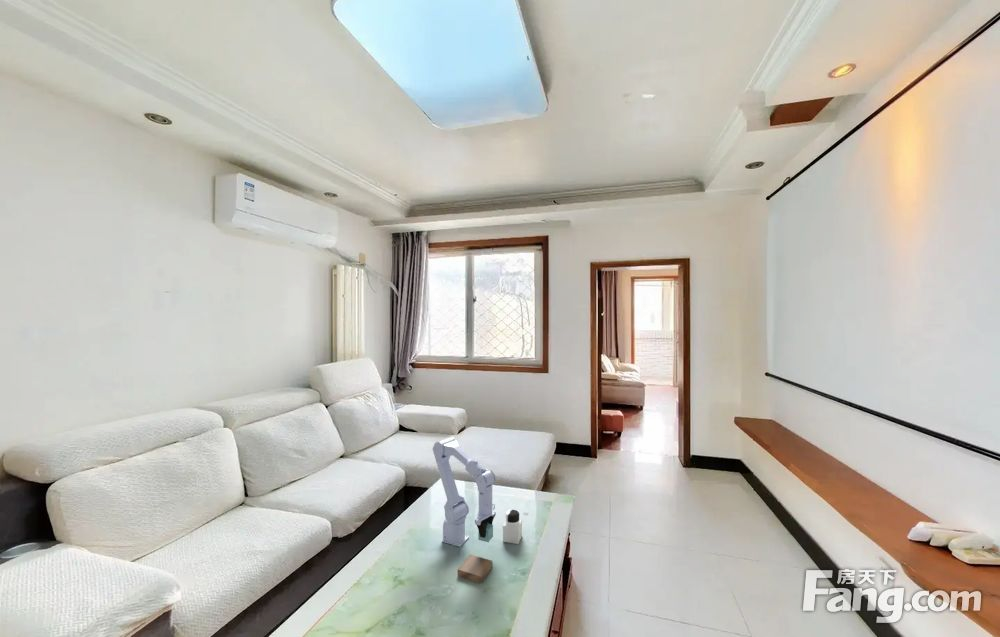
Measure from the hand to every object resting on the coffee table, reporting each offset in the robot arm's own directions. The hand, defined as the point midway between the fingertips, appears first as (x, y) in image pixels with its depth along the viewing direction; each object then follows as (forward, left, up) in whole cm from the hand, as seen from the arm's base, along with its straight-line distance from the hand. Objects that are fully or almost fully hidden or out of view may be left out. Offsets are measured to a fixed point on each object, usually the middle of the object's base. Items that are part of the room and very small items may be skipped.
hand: (485, 533), depth 159 cm
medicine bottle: (+6, +15, -9) cm, 19 cm away
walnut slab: (+1, -11, -9) cm, 14 cm away
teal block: (0, 0, -2) cm, 2 cm away
